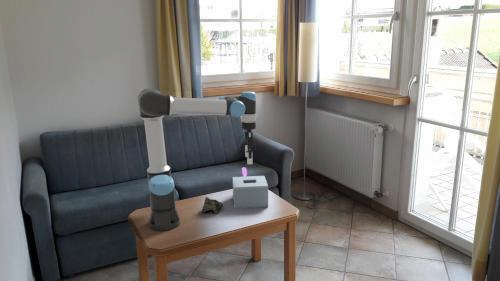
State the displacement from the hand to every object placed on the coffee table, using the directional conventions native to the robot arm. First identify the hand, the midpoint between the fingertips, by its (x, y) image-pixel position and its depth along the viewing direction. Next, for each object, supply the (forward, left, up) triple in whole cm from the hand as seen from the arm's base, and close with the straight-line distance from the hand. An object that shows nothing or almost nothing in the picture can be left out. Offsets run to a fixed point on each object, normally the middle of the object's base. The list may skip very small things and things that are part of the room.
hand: (248, 160), depth 219 cm
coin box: (0, 0, -24) cm, 24 cm away
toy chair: (0, +14, -24) cm, 28 cm away
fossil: (-20, -9, -24) cm, 32 cm away
